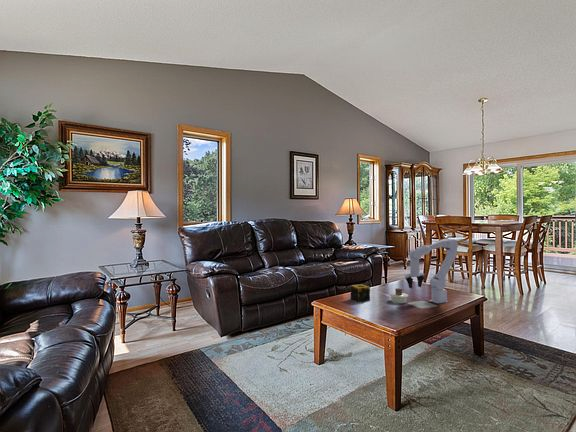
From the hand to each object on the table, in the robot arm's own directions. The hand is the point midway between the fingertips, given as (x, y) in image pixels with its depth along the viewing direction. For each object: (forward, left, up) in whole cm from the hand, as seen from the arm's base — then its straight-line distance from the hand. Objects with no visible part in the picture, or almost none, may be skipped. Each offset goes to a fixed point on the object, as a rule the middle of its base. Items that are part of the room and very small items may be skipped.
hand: (415, 287), depth 218 cm
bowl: (+9, -6, -10) cm, 15 cm away
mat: (0, +6, -10) cm, 12 cm away
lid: (+9, -5, -6) cm, 12 cm away
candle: (+30, -21, -11) cm, 38 cm away
